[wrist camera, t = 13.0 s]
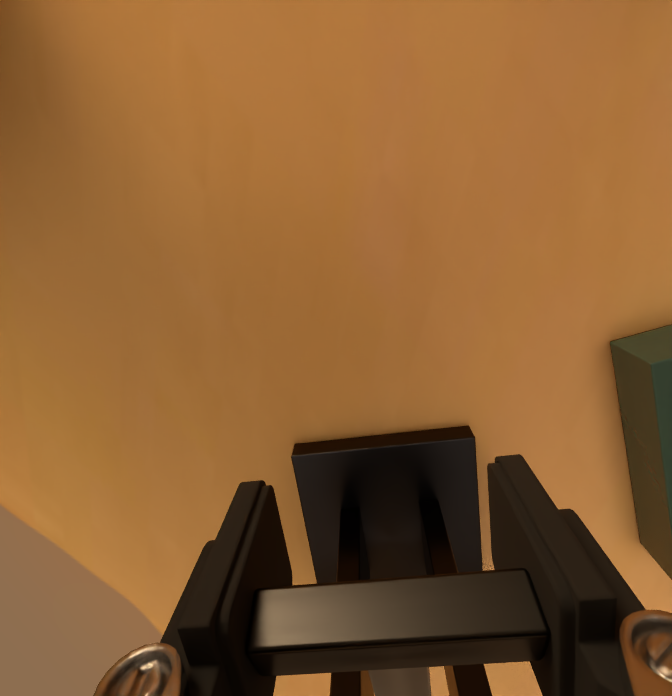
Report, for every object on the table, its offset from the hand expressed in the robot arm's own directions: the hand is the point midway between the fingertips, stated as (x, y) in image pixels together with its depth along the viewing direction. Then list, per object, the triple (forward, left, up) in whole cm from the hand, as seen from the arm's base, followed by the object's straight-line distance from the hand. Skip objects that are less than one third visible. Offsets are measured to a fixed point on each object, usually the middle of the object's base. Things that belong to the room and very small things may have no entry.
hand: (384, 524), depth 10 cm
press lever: (+5, -1, 0) cm, 5 cm away
